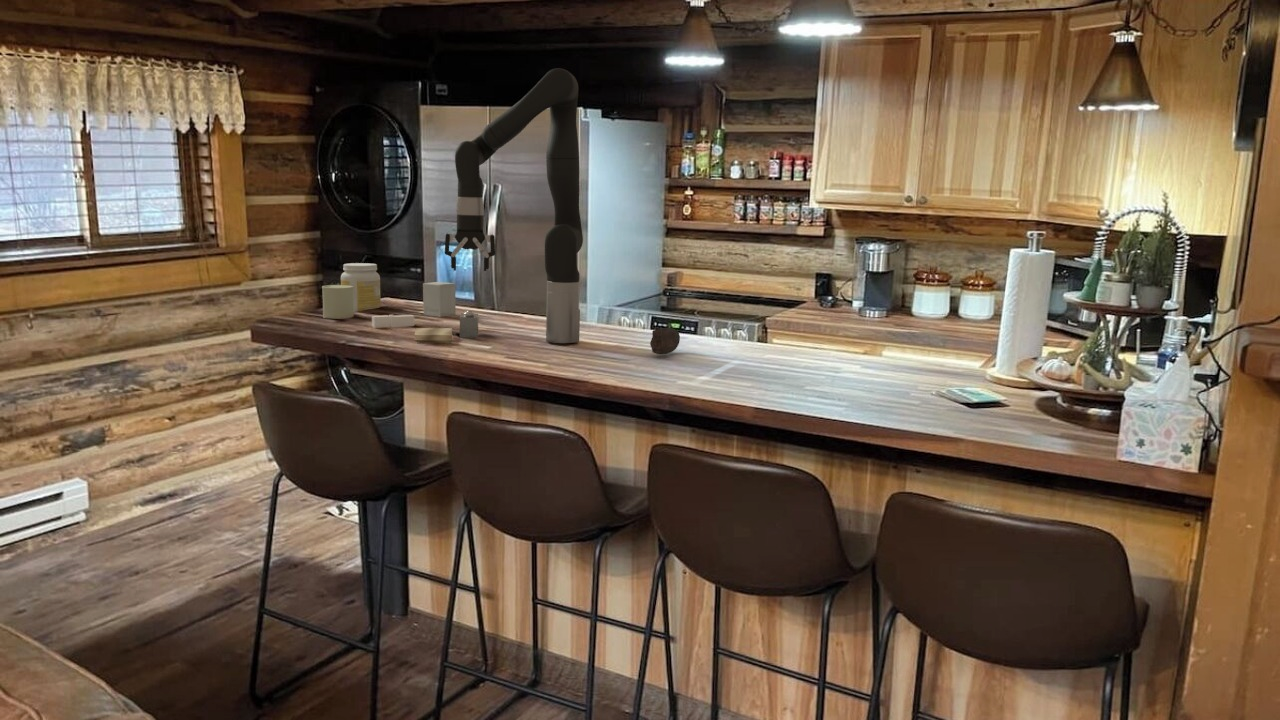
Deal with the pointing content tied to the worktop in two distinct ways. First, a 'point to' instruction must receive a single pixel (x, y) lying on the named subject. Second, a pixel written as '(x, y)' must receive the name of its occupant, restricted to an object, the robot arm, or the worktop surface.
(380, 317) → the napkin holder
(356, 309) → the supplement tub
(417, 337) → the stand
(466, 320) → the block
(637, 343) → the worktop surface
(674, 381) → the worktop surface
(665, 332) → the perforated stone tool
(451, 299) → the supplement box
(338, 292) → the can
